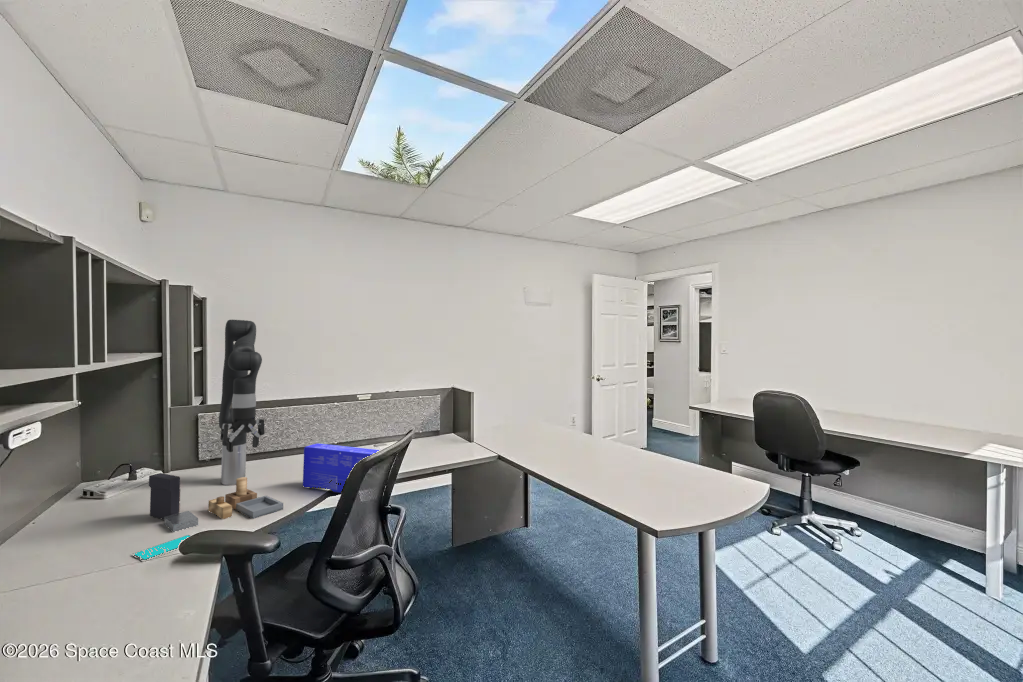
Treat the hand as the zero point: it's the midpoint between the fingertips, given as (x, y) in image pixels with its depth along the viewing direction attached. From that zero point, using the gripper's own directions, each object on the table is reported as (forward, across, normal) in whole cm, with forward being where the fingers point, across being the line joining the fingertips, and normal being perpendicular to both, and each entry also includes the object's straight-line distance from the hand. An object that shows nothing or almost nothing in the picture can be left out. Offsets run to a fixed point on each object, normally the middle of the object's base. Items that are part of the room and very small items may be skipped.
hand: (242, 449), depth 158 cm
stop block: (+24, +4, -7) cm, 26 cm away
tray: (+24, -6, +1) cm, 25 cm away
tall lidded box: (+24, +16, -20) cm, 35 cm away
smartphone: (+25, +25, +8) cm, 36 cm away
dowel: (+24, -5, -11) cm, 27 cm away
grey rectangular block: (+25, +16, -8) cm, 30 cm away
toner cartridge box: (+24, -39, +8) cm, 47 cm away
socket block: (+24, -5, -11) cm, 27 cm away
